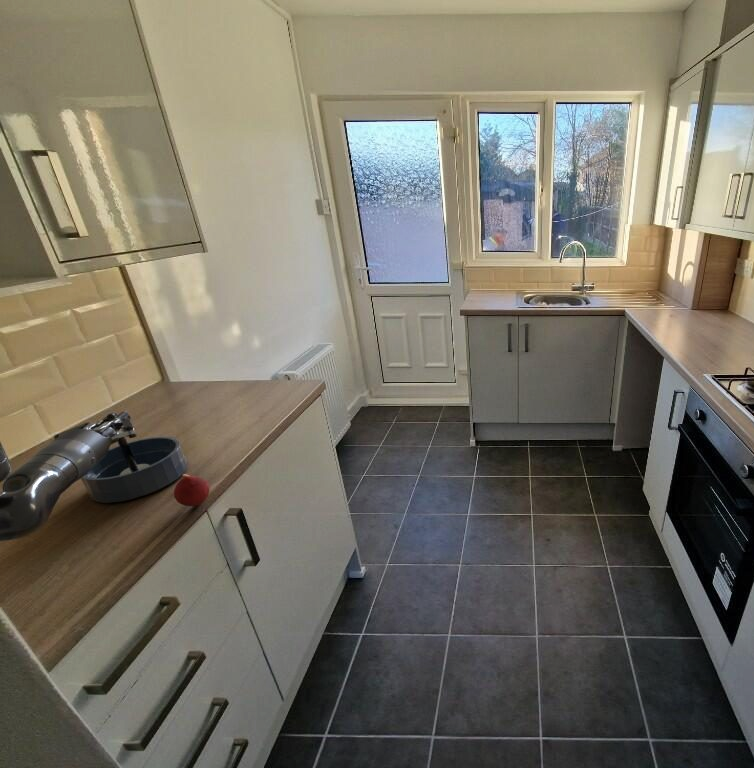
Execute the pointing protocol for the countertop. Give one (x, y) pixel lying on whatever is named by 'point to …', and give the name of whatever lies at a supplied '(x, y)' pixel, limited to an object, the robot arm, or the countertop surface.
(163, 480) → the bowl
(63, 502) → the countertop surface
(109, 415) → the weighted rod stand
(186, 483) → the onion
